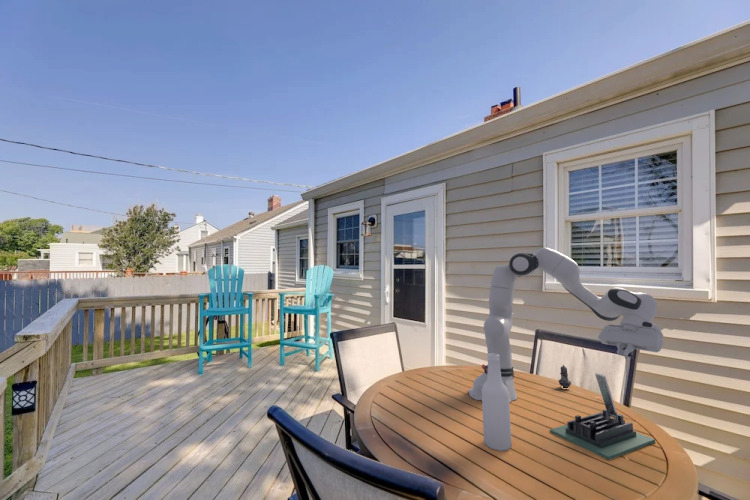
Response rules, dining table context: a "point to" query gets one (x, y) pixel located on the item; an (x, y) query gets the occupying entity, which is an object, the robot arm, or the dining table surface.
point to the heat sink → (600, 429)
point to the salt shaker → (564, 378)
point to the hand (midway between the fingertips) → (621, 354)
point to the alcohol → (496, 408)
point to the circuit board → (607, 451)
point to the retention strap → (606, 395)
